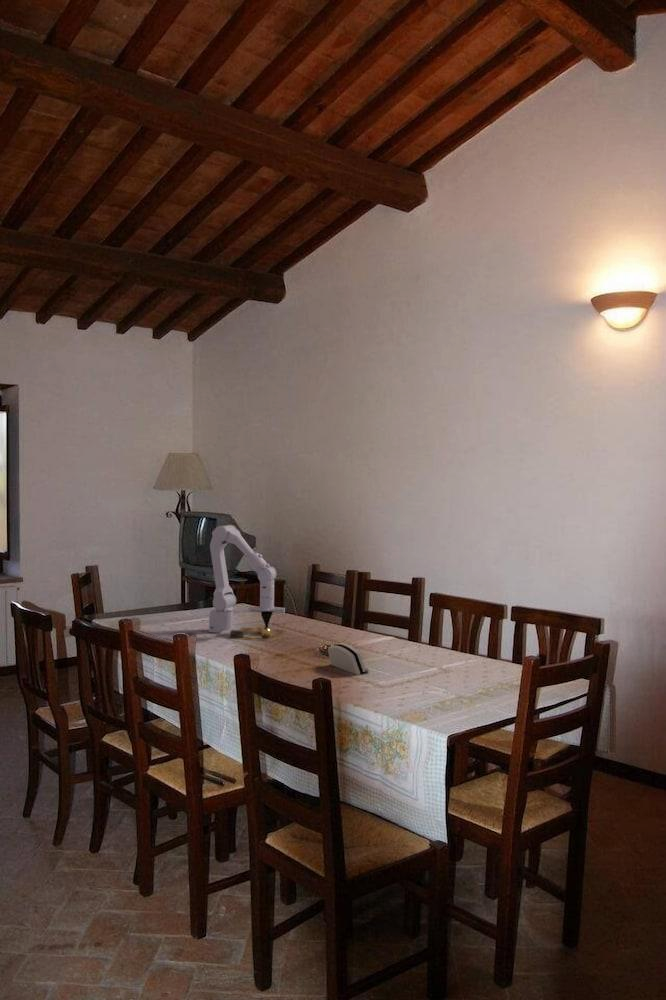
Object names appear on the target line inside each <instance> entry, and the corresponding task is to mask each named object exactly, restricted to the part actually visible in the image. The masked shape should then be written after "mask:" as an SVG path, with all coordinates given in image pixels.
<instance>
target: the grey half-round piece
mask: <svg viewBox="0 0 666 1000" xmlns="http://www.w3.org/2000/svg"><path fill="white" fill-rule="evenodd" d="M327 652H328V657H329V661H330V665H331V666H333V667H336V668H339V669H342V670H343V671H346V672H349V673H352V674H353V675H356V676H359V675H361V672H362V673H366V674H370V671H369V668H368V667H365V664H364V661H363V658H362V655H361V653H360V652H359V650H358V649H356V648H355V647H353V646H351V645H350V644H348V643H344V642H337V643H334V644H333V645H330V646H329V647H328V648H327Z"/></svg>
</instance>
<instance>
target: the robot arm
mask: <svg viewBox="0 0 666 1000" xmlns="http://www.w3.org/2000/svg"><path fill="white" fill-rule="evenodd" d="M211 535H212V537H211V540H210V544H209V551H210V556H211V563H212V568H213V576H214V583H215V590H214V592H213V599H212V606H213V608H214V609H210V612H209V621H208V633H218V634H220V633H222V632H224V631H231V630H234V629H233V628H234V626H233V625H234V607H235V606H236V604H237V597H236V595H235V594H234V590H233V589H232V587H231V586H230V584H229V583H230V582H229V577H228V576H229V575H228V570H227V569H228V568H227V564H226V563H227V562H226V556H225V551H224V548H225V547H226V546H227V545H228V544H233V545H235V547H236V548H238V549H239V550H240V552H241V553H243V554H244V555H245V557H246V558H247V563H248V564H249V566H250V567H251V568H252V569H253V570H254V571H255V572H254V573H256V574H257V579H258V580H259V606H249V607H248V613H261V615H260V616H261V618H262V620H263V622H264V626H265V627H268V628H269V625H270V624H269V623H270V619H271V617H272V615H273V614H274V613H275V614H276V613H280V614H285V612H286V608H285V607H278V606H275V580H276V578H277V570H276V569H275V567H274V566H272V565H270V563H268V562H266V560H265V559H264V558H263V555H262V554H261V553H259V552H254V550H253V549H252V547H250V545H249V544H248V542H246V540H245V539H244V538H243V536H242V534H241V531H240V530H239V529H237V527H236V526H235V525H233V524H227V525H219V526H216V527H215V528H214V530H212V532H211Z"/></svg>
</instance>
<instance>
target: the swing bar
mask: <svg viewBox="0 0 666 1000" xmlns="http://www.w3.org/2000/svg"><path fill="white" fill-rule="evenodd" d="M256 626H257V630H258V631H259V632H260V634H261V635H262V637H270V629H271V628H270V627H269V626H268V627H265V624H263V623H257V625H256Z"/></svg>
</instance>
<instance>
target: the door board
mask: <svg viewBox="0 0 666 1000" xmlns="http://www.w3.org/2000/svg"><path fill="white" fill-rule="evenodd" d="M229 631H230V635H229V636H226V638H225V639H227V640H228V639H229V640H242V641H256V642H257V641H258V642H260V641H261V642H275V641H276V639H278V638H279V637H280V636H282V635H283V634H284V633H285V632H287V630H286V629H273V628H270V637H262V635H261V634H260V632H259V631H258V630H257V628H256V627H255V628H254V627H253V628H252V627H241V628H240V629H238V630H237V629H236V630H235V629H232V630H229Z"/></svg>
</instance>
